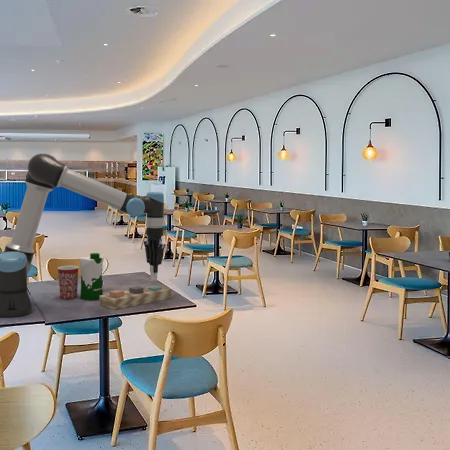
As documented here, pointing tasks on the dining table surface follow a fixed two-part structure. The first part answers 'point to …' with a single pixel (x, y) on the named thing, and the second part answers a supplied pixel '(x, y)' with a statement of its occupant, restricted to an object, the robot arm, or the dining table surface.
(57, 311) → the dining table surface
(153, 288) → the teal button
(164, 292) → the oak button console
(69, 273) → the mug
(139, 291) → the charcoal button
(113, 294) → the terracotta button
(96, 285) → the milk carton
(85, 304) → the dining table surface
